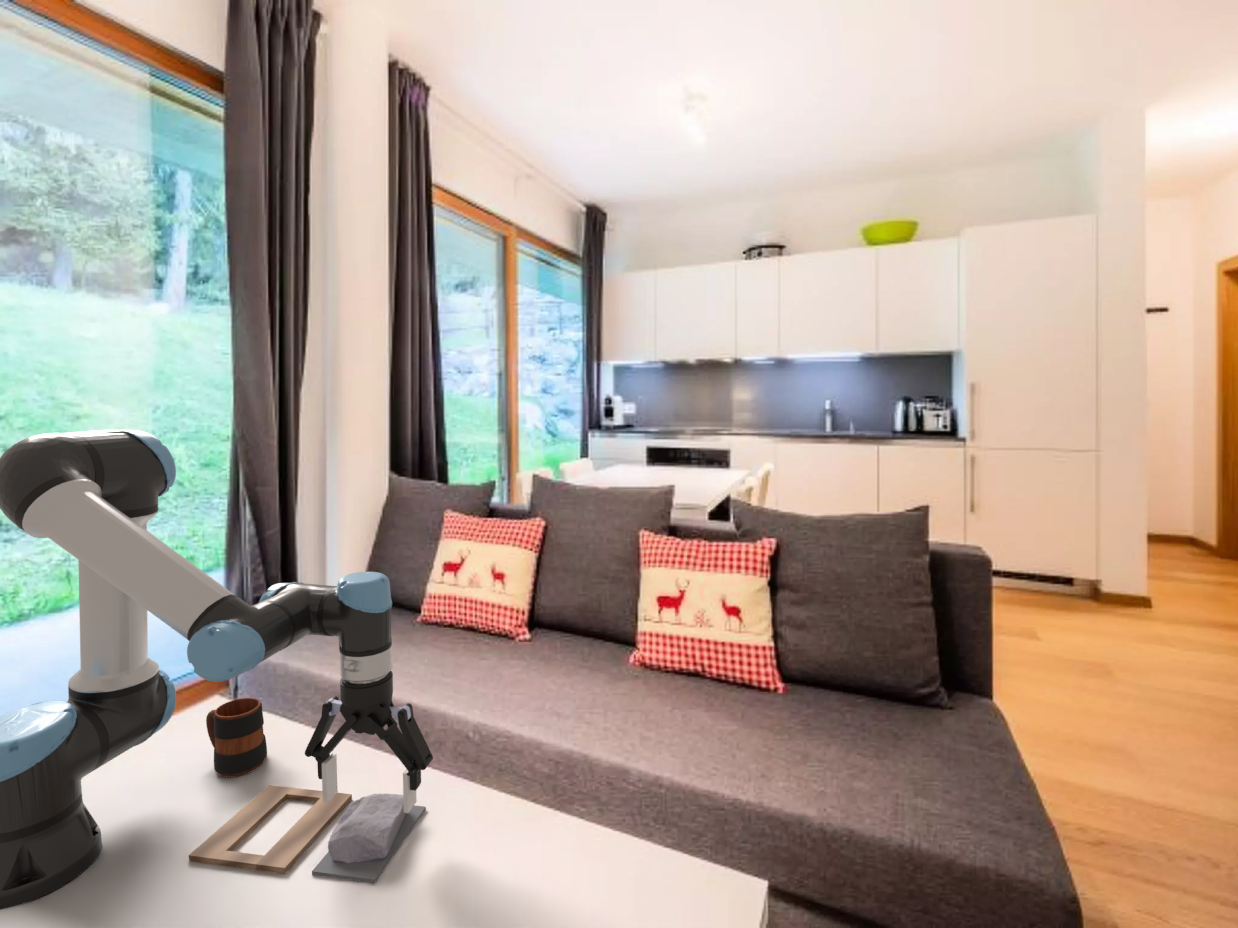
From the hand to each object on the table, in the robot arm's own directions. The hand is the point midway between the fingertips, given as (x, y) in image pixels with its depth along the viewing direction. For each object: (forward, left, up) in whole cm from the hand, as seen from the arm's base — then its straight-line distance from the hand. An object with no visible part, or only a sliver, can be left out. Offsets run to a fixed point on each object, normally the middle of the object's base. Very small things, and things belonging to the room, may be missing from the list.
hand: (369, 802), depth 96 cm
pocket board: (-17, 0, -6) cm, 18 cm away
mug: (-37, +15, -7) cm, 40 cm away
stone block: (-1, 0, -6) cm, 6 cm away
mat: (0, 0, -6) cm, 6 cm away
